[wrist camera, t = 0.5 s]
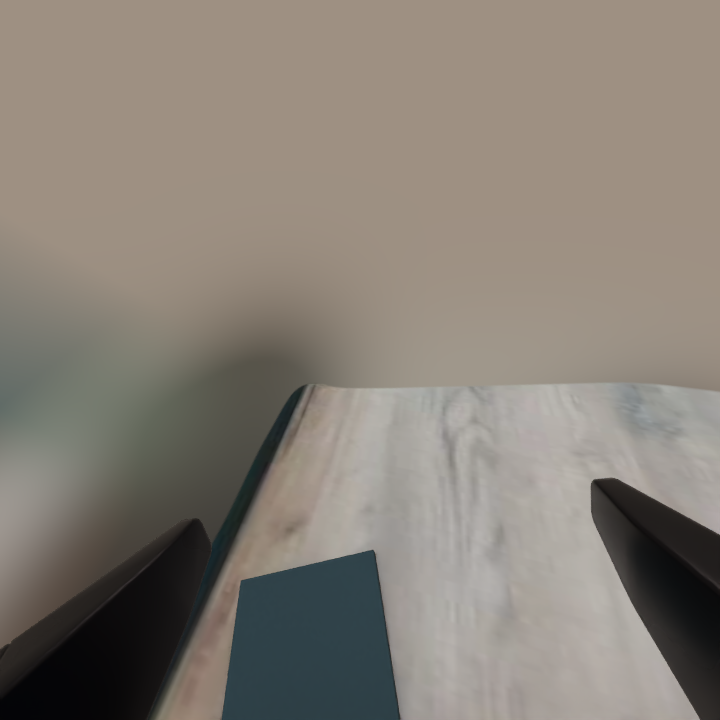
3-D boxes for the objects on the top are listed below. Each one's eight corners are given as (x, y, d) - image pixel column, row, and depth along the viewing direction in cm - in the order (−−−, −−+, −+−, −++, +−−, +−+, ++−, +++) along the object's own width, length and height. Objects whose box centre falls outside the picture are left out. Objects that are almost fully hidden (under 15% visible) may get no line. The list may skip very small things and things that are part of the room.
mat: (404, 749, 17) (403, 747, 16) (216, 789, 17) (211, 788, 17) (375, 553, 24) (373, 549, 24) (243, 583, 24) (240, 580, 24)
